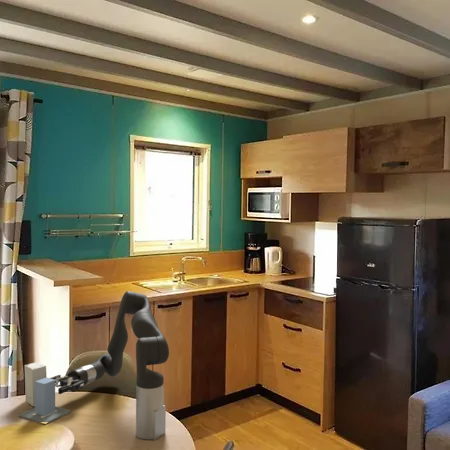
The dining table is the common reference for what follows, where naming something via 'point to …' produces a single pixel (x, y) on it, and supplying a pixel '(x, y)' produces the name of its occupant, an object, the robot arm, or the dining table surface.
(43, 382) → the blue block
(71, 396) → the dining table surface
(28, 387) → the skincare box
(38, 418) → the letter mat
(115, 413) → the dining table surface
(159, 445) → the dining table surface
